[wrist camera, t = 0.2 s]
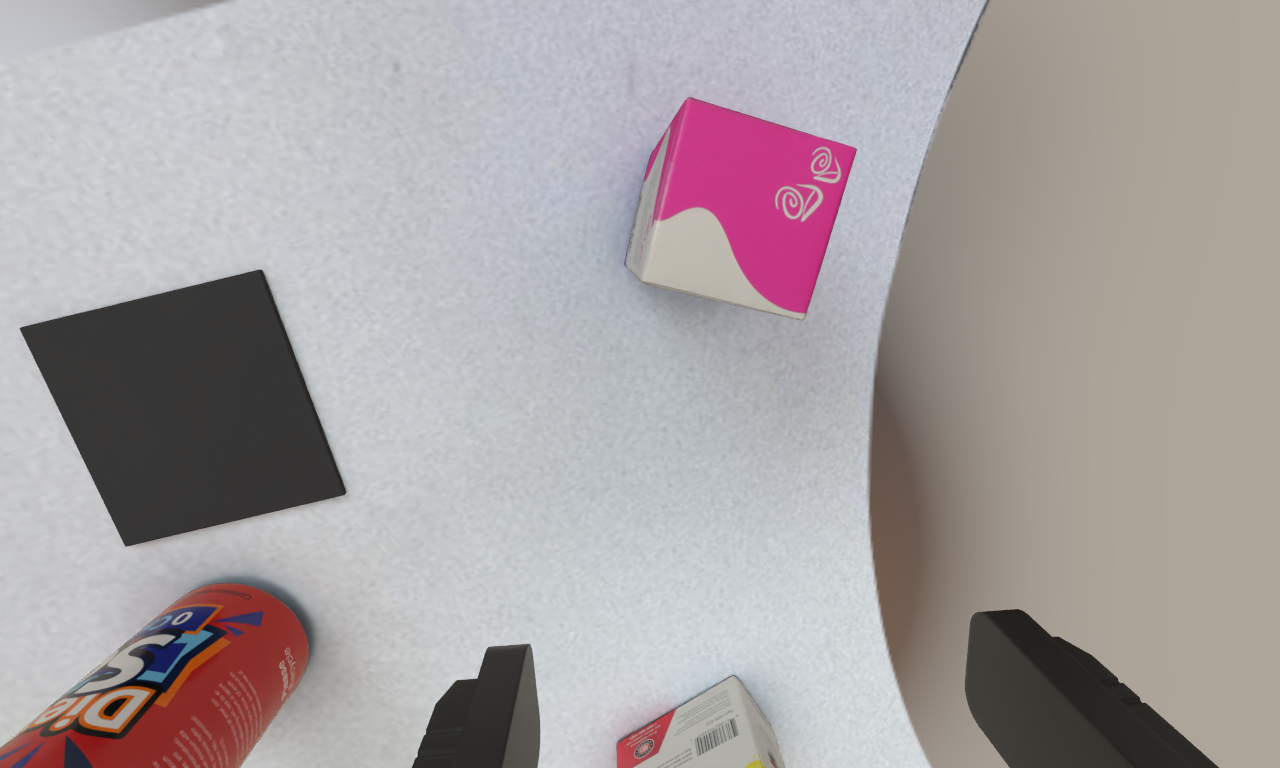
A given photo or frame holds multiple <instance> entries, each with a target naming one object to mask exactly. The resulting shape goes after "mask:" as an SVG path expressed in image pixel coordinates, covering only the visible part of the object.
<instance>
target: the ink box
mask: <svg viewBox="0 0 1280 768" xmlns="http://www.w3.org/2000/svg"><path fill="white" fill-rule="evenodd" d="M616 747H617V768H785V765H784V762H783V759H782V756H781V753H780V750H779V747H778V743H777V740H776V737H775V734H774V731H773V729H772V727H771V726H770V724H769V722H768V721H767V719H766V718H765V716H764V715H763V713H762V712H761V710H760V709H759V707H758V706H757V704H756V703H755V702H754V700H753V699H752V697H751V696H750V695H749V693H748V692H747V691H746V689H745V688H744V686H743V685H742V684H741V682H740V681H739V680H738V679H737V678H736V677H734V676H732V677H730V678H728V679H727V680H725V681H723V682H722V683H720V684H718V685H717V686H715V687H713V688H711V689H709V690H708V691H706V692H704V693H703V694H701V695H699V696H697V697H696V698H694V699H692V700H691V701H689V702H687V703H686V704H684V705H682V706H680V707H679V708H677V709H675V710H674V711H672V712H670V713H668V714H666V715H665V716H663V717H661V718H659V719H658V720H656V721H655V722H652V723H651V724H649V725H648V726H646V727H644V728H643V729H640V730H639V731H637V732H635V733H634V734H632V735H630V736H628V737H626V738H625V739H623V740H622V741H620V742H618V743H617V745H616Z"/></svg>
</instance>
